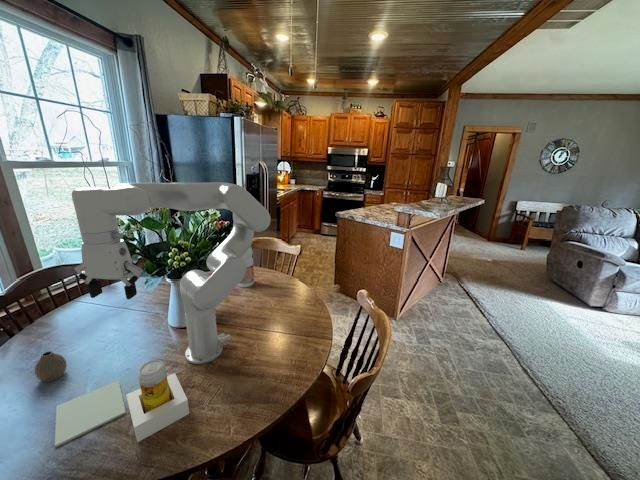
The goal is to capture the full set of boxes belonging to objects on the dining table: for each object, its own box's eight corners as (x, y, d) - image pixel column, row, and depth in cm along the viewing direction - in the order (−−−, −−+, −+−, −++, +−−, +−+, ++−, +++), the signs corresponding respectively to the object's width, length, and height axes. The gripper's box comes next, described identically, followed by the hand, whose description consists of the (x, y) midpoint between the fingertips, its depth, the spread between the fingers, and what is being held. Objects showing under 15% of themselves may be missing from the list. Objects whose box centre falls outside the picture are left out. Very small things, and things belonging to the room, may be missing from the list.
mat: (119, 381, 83) (118, 380, 83) (125, 413, 73) (125, 411, 73) (56, 407, 74) (56, 405, 74) (55, 447, 64) (54, 445, 64)
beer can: (143, 423, 71) (133, 378, 66) (150, 404, 76) (142, 360, 72) (168, 418, 72) (161, 374, 68) (173, 399, 78) (167, 357, 73)
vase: (74, 368, 87) (68, 346, 85) (55, 385, 81) (47, 362, 78) (52, 368, 87) (45, 346, 84) (31, 385, 80) (23, 361, 78)
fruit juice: (233, 283, 150) (230, 235, 142) (248, 278, 156) (246, 233, 148) (242, 289, 144) (239, 240, 135) (257, 284, 150) (255, 236, 142)
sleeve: (176, 385, 82) (174, 372, 81) (189, 413, 74) (187, 399, 72) (129, 408, 75) (126, 394, 73) (137, 442, 66) (133, 427, 65)
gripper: (144, 233, 72) (154, 290, 77) (80, 231, 72) (94, 288, 77) (124, 242, 64) (136, 304, 69) (53, 239, 65) (70, 301, 70)
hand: (114, 296), depth 73 cm, fingers open, 9 cm apart
